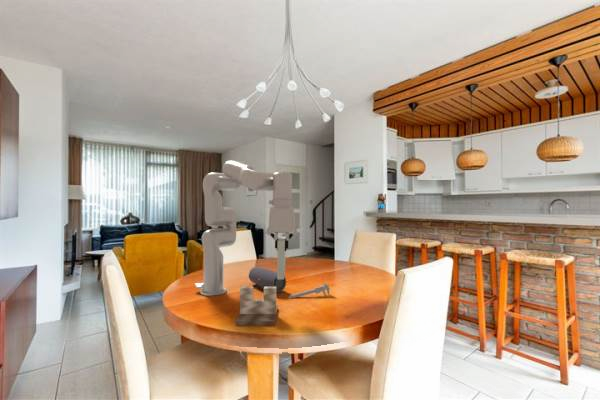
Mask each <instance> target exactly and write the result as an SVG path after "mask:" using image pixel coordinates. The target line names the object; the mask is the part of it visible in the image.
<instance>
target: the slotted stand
mask: <svg viewBox="0 0 600 400" xmlns="http://www.w3.org/2000/svg"><path fill="white" fill-rule="evenodd" d="M277 313H278V305H277V291H276V287H264V289H263V298H254V286H248V285H247V286H243V285H242V286H241V287H239V315H238V317H237V319H236V321H235V325H236V326H275V323H276V318H277Z"/></svg>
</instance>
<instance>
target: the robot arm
mask: <svg viewBox="0 0 600 400" xmlns="http://www.w3.org/2000/svg"><path fill="white" fill-rule="evenodd" d="M222 165H223V166H222V172H209V173H206V175H205V176H204V178H203V181H202V191H203V195H204V222H205V225H207V226H208V227H223V228H211V229H207V230H204V232H203V233H202V235H201V244H202V249H203V282H202V283H195V289H200V291H199V293H200V295H202V296H205V297H206V296H209V297H214V295H215V296H220V295H224V294H225V293H226V292H227V287H225V286H224V254H223V252H222V250H221V249H220V248H224V247H230V246H231V247H232V246H233V245H234V244H235V243H236V240H237V215H236V212H235V210H234V209H233V208H232V207H229V206H228V207H226V206H223V202H224V201H223V197H222V195H221V193H220V192H219V191H227V192H228V191H230V192H231V191H232V192H233V191H237V190H239V189H240V188H241V187H242V186H243V187H246V188H248V189H250V190H253V191H261V192H272V199H271V200H269V201H268V204H269V205H271V207H270V208H269V209H270V210H269V214H268V217H269V218H268V227H267V229H266V231H265V234H266V235H267V236H270V237H271V238H273V240H274V249H277V243H278V239H279V234H280V233H281V234H285V237H286V238H285V251H287V249H289V240H290V239H292V237H294V236H297V235H298V234H299V232H298V230H297V227H296V222H295V220H296V217H295V216H296V214H295V209H294V208H295V207H293V206H292V203H293V201H292V200H293V199H292V197H293V196H292V195H293V193H292V192H293V175H292V173H290V172H288V171H287V172H286V171H277V172H273V173H272V172H268V171H267V172H266V171H257V170H255V167H253V166H252V164H251V163H249V162H246V161H238V160H227V161H226V162H225V163H224V164H222Z"/></svg>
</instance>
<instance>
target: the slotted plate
mask: <svg viewBox="0 0 600 400" xmlns="http://www.w3.org/2000/svg"><path fill="white" fill-rule="evenodd" d="M285 238H286V236H278V243H277V248H276V253H277V254H276V255H277V259H276V261H277V263H276V271H277V279H284V277H285V273H286V251H287V250H286V251H285Z"/></svg>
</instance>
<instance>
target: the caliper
mask: <svg viewBox="0 0 600 400" xmlns="http://www.w3.org/2000/svg"><path fill="white" fill-rule="evenodd" d="M321 292H322V293H323V295H324V296H326V295H328V296H330V286H329V284H328V283H327V282H325V283H323V285H321V286H316V287H314V288H312V289H308V290H305V291H301V292H297V293H294V294H290V296H288V297H287V299H296V298H300V297H304V296H307V295H310V294H314V293H315V294H316V295H317V294H319V293H321ZM326 292H327V294H326Z"/></svg>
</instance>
